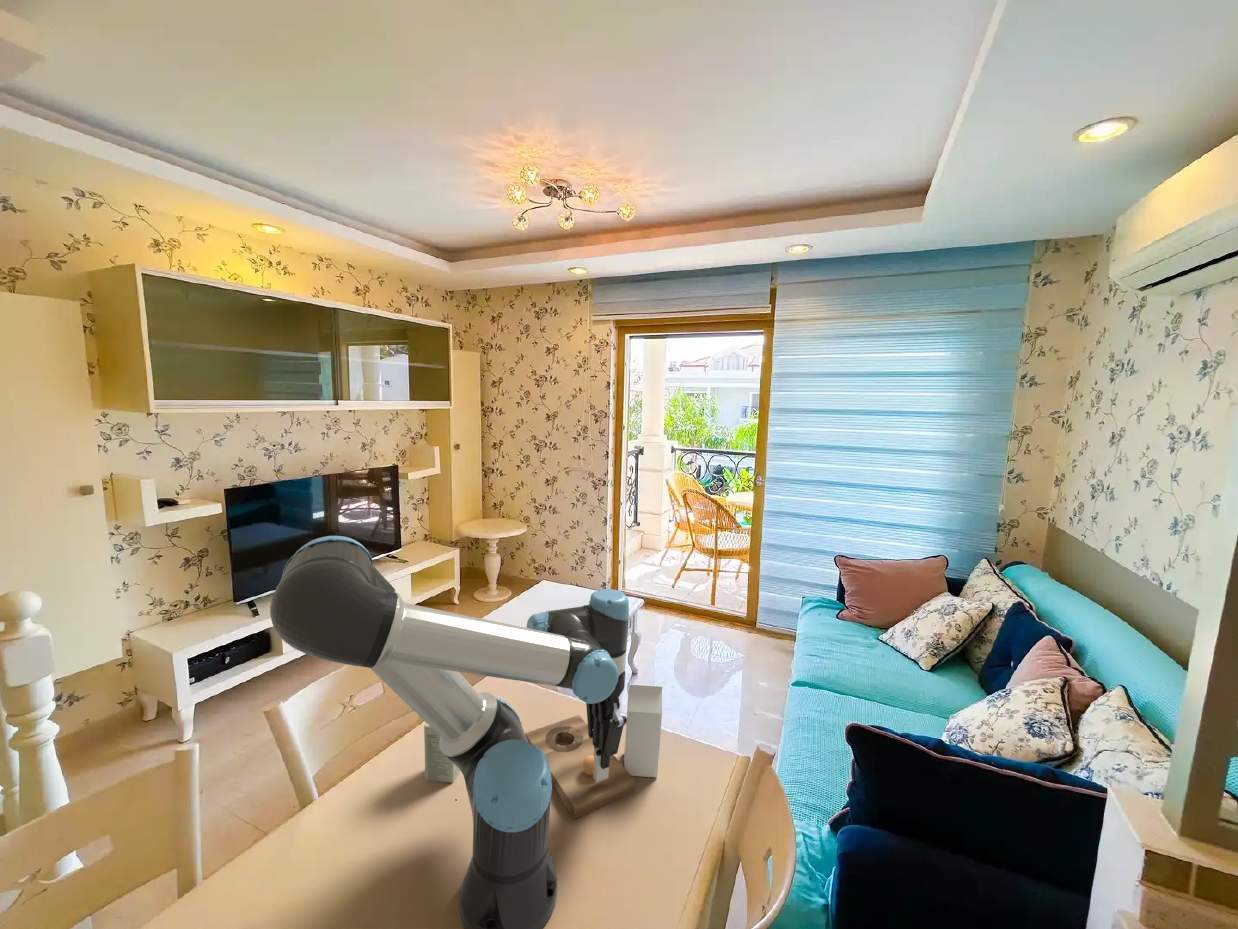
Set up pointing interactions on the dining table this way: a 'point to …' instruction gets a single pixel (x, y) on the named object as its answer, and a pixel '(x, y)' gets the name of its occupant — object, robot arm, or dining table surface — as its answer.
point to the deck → (578, 767)
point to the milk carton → (643, 730)
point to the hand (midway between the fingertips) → (600, 777)
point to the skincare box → (437, 759)
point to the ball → (588, 765)
